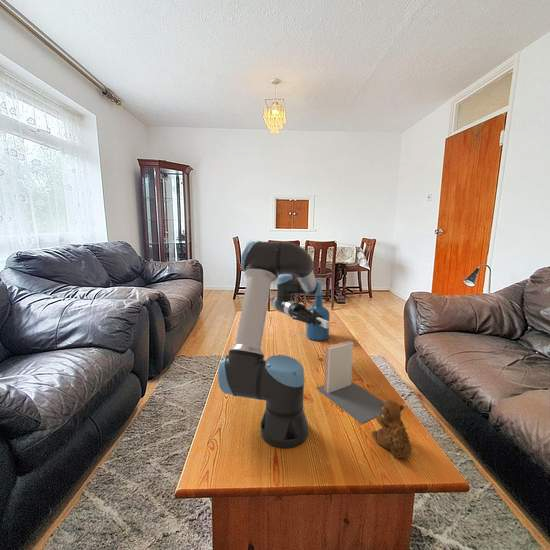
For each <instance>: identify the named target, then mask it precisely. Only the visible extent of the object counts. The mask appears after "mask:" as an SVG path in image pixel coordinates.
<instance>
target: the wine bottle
mask: <svg viewBox="0 0 550 550" xmlns="http://www.w3.org/2000/svg"><path fill="white" fill-rule="evenodd" d="M323 294H324V293H323V291H322V293H321V295H319V296H316V295H315V296H314V304H313V305H312V306H311V307H309V308H308V309H307V310H310V311H313V310H316V312H318V313H319V314H321V315H322V316H323V319H324V320H327V321H329V322H330V317H331V316H330V315H331V313H330V311H329V309H328V308H327V307H325V306H324V305H323ZM305 324H306V326H305V327H306V330H305V331H306V332H305V333H306V334H305V336H306V338H308V339H309V340H312V341H317V342H320V341H321V342H322V341H326V340H328V339H329V337H330V327H329V328H327V329H326V328H324V327H322V326H319V325H317V324H315V325H313V323H311V324H308V323H305Z"/></svg>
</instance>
